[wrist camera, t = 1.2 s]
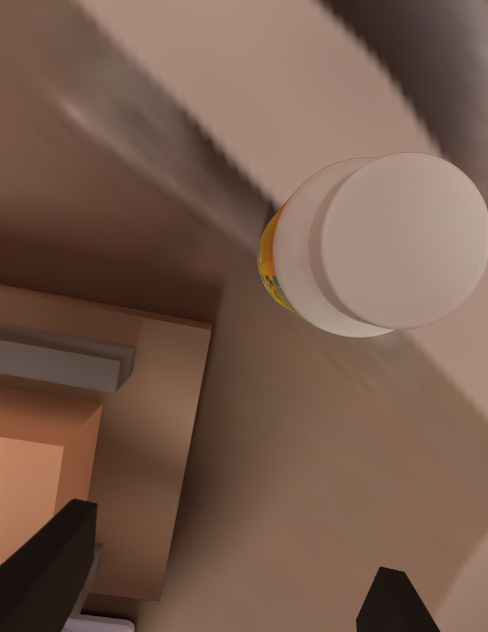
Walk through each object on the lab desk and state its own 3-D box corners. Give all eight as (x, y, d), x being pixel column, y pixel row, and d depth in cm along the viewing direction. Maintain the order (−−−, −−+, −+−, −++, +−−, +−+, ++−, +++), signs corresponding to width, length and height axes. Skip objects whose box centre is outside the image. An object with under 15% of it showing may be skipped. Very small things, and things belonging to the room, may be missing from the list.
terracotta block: (85, 510, 17) (42, 585, 13) (-32, 493, 16) (-113, 565, 12) (102, 403, 16) (63, 446, 12) (-18, 383, 16) (-98, 421, 12)
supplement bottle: (385, 232, 18) (569, 190, 8) (334, 331, 18) (453, 398, 9) (286, 179, 17) (363, 70, 8) (235, 283, 18) (250, 298, 8)
